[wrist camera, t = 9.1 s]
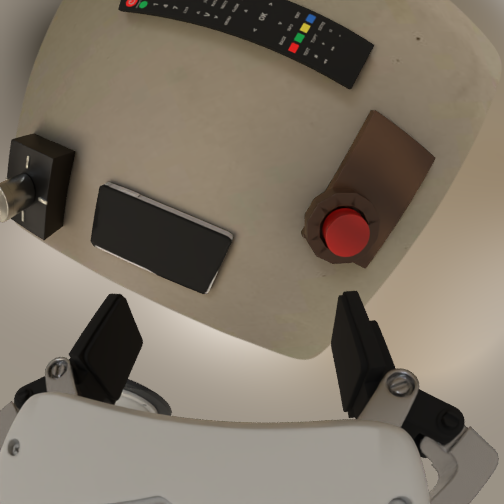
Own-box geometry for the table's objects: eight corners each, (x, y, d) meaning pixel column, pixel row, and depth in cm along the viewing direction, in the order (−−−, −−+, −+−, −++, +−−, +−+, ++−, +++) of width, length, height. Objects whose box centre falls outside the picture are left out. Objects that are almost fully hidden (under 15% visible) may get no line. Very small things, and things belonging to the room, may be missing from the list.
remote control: (346, 89, 20) (351, 88, 19) (120, 12, 16) (114, 9, 15) (369, 48, 18) (374, 45, 17) (144, -26, 14) (139, -31, 13)
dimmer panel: (63, 226, 28) (43, 241, 25) (23, 203, 27) (4, 215, 23) (76, 151, 24) (52, 159, 20) (33, 133, 22) (10, 139, 19)
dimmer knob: (37, 179, 21) (6, 194, 17) (33, 212, 23) (6, 230, 19) (16, 168, 21) (-13, 181, 16) (14, 199, 22) (-13, 215, 18)
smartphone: (206, 296, 30) (90, 245, 28) (208, 290, 31) (94, 240, 29) (234, 237, 27) (100, 181, 24) (235, 232, 28) (106, 178, 25)
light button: (348, 254, 25) (353, 263, 24) (314, 236, 25) (317, 245, 23) (371, 220, 23) (378, 227, 22) (337, 199, 23) (341, 206, 21)
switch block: (360, 266, 29) (367, 281, 26) (290, 231, 27) (292, 245, 25) (429, 155, 22) (445, 161, 20) (362, 104, 21) (374, 103, 18)
